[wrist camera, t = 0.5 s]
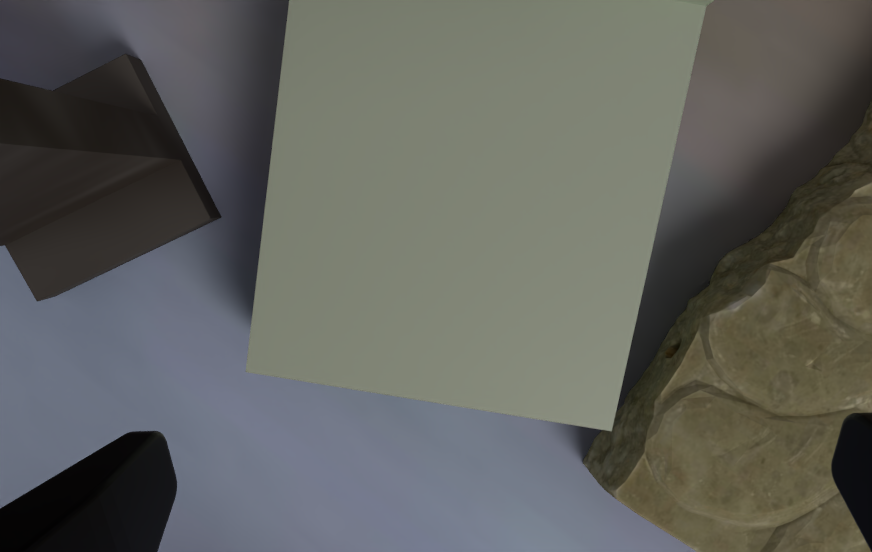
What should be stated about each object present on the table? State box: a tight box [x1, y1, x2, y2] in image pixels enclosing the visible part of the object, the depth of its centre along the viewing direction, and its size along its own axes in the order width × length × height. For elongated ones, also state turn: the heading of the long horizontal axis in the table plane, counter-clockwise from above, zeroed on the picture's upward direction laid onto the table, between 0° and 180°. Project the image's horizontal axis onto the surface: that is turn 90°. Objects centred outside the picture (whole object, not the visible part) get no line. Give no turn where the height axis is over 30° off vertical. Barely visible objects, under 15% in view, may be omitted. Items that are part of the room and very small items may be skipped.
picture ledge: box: [246, 0, 714, 431], centre depth 19 cm, size 14×12×4 cm
